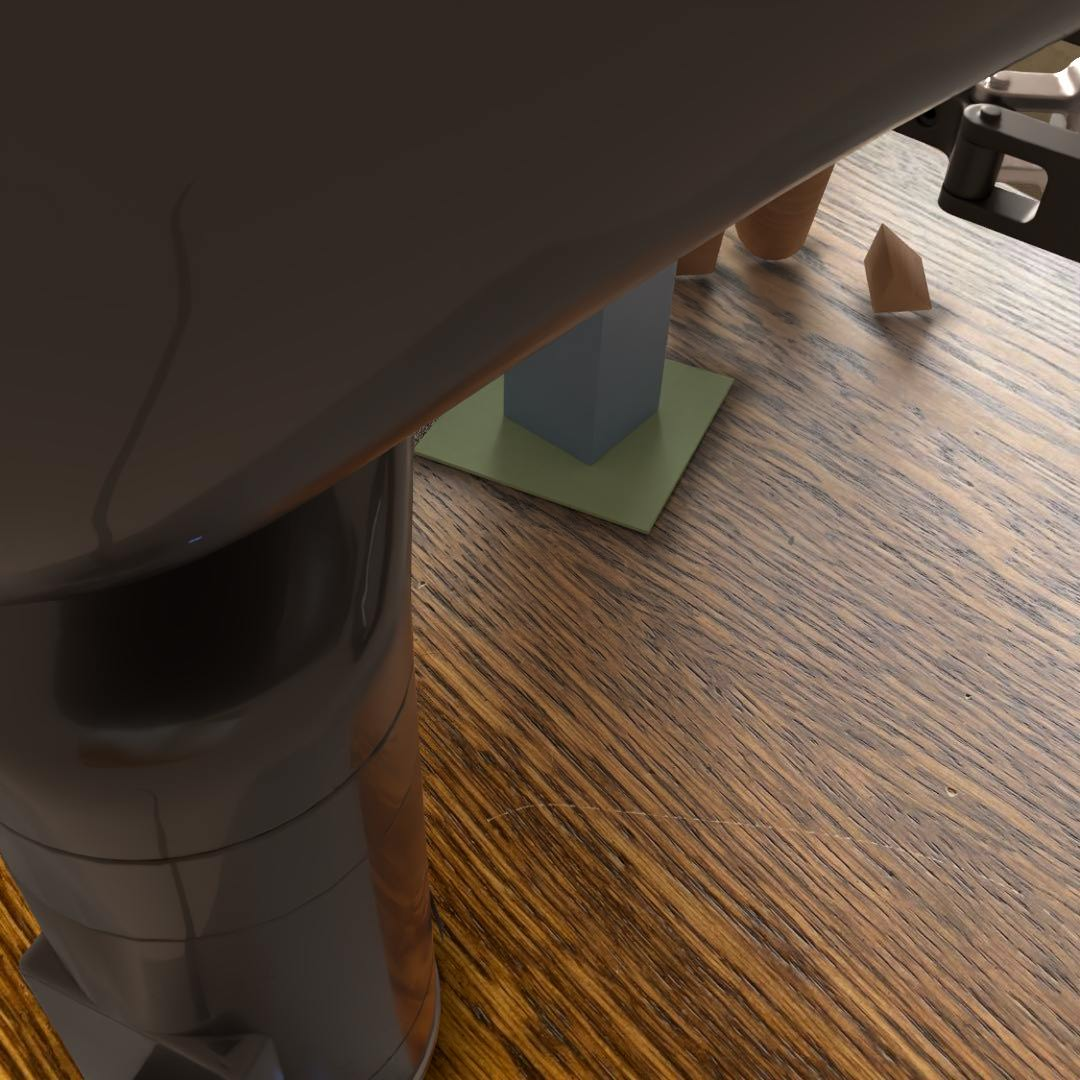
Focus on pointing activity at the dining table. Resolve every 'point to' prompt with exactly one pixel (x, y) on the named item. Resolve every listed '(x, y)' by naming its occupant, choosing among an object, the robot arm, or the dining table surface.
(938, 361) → the dining table surface
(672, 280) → the slate block
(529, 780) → the dining table surface
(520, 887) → the dining table surface
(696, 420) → the mat
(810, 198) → the wooden block set
